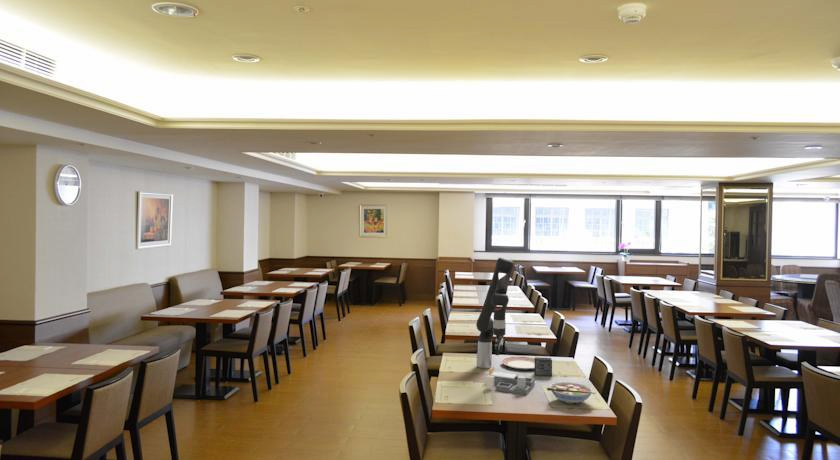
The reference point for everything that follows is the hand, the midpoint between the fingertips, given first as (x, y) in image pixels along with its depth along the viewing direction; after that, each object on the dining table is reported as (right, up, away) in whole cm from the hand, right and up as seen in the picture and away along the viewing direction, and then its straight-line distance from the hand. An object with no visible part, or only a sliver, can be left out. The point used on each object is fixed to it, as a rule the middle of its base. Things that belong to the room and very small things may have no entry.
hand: (498, 353), depth 326 cm
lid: (+2, -13, -1) cm, 13 cm away
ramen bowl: (+34, -19, -33) cm, 51 cm away
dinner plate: (+21, -17, +37) cm, 46 cm away
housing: (+4, -17, -9) cm, 20 cm away
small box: (+31, -18, +18) cm, 40 cm away
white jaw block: (-7, -17, -13) cm, 23 cm away
